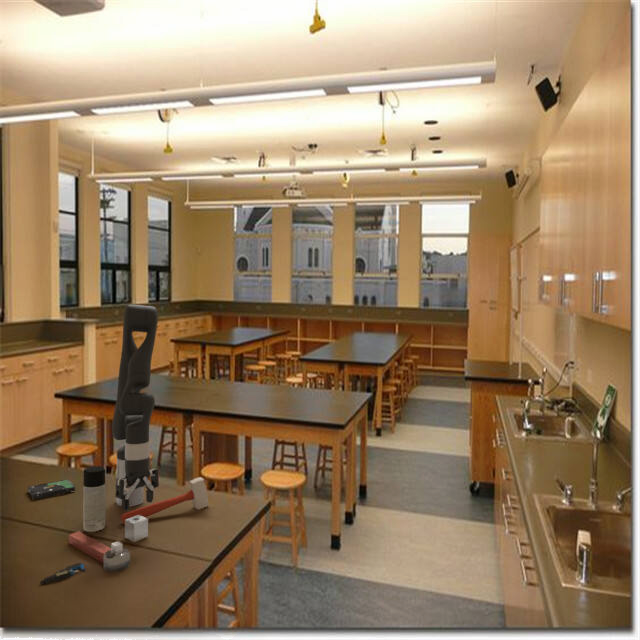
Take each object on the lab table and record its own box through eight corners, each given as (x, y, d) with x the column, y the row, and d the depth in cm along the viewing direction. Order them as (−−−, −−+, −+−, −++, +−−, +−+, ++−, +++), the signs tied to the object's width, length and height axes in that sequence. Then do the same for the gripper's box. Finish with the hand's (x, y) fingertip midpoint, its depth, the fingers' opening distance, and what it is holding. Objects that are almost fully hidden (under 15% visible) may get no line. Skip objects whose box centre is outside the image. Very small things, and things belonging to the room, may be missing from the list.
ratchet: (62, 545, 166) (62, 525, 165) (84, 537, 171) (84, 517, 171) (112, 574, 149) (112, 551, 149) (134, 564, 155) (134, 542, 155)
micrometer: (81, 560, 154) (88, 566, 151) (81, 566, 155) (87, 573, 151) (36, 573, 146) (42, 581, 143) (36, 580, 146) (41, 588, 143)
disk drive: (33, 502, 200) (75, 493, 209) (32, 495, 200) (75, 486, 209) (27, 493, 208) (68, 485, 217) (27, 486, 208) (68, 478, 217)
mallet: (121, 508, 179) (205, 478, 196) (118, 505, 182) (201, 475, 199) (126, 538, 180) (209, 506, 197) (123, 534, 183) (205, 502, 200)
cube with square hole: (124, 537, 172) (124, 519, 171) (138, 532, 176) (138, 514, 175) (134, 542, 169) (134, 523, 168) (147, 536, 173) (147, 518, 172)
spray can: (100, 522, 182) (100, 464, 181) (108, 528, 178) (108, 469, 177) (80, 528, 178) (79, 468, 177) (88, 534, 173) (87, 473, 172)
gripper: (149, 448, 179) (149, 496, 179) (110, 458, 167) (110, 510, 168) (163, 452, 174) (163, 502, 175) (124, 463, 163) (125, 516, 163)
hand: (137, 506), depth 171 cm, fingers open, 8 cm apart
